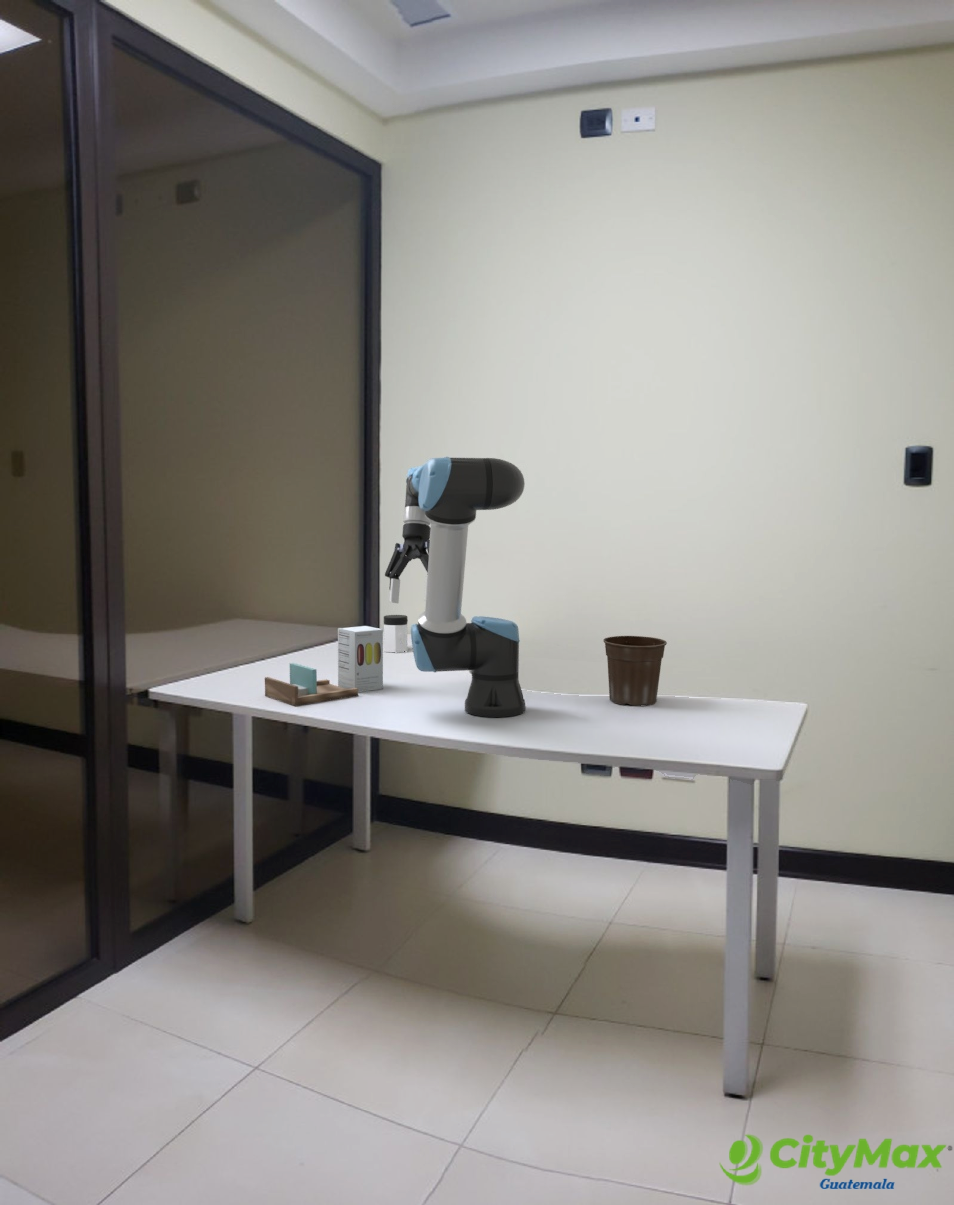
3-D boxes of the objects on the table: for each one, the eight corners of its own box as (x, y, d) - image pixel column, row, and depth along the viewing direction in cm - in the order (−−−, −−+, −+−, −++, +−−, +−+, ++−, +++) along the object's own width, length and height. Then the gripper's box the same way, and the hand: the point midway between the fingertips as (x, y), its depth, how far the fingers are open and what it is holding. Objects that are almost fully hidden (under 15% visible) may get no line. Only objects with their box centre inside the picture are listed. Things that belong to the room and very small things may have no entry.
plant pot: (678, 703, 244) (680, 642, 242) (630, 711, 235) (632, 647, 233) (636, 692, 257) (637, 633, 255) (589, 699, 249) (590, 638, 247)
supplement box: (354, 693, 255) (354, 631, 253) (336, 687, 262) (336, 627, 260) (384, 688, 261) (383, 628, 259) (366, 683, 268) (365, 624, 266)
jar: (389, 653, 317) (389, 618, 315) (378, 650, 323) (378, 615, 322) (413, 651, 321) (413, 616, 320) (401, 648, 328) (401, 614, 327)
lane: (326, 686, 264) (326, 668, 263) (358, 696, 252) (357, 677, 251) (265, 695, 252) (264, 677, 251) (294, 706, 239) (294, 686, 239)
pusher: (294, 688, 255) (293, 662, 254) (316, 695, 246) (316, 669, 245) (282, 690, 252) (281, 664, 252) (304, 697, 243) (304, 671, 242)
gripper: (459, 523, 251) (453, 602, 249) (396, 531, 268) (390, 605, 266) (439, 517, 246) (433, 598, 243) (376, 526, 263) (369, 601, 260)
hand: (410, 602), depth 254 cm, fingers open, 13 cm apart
